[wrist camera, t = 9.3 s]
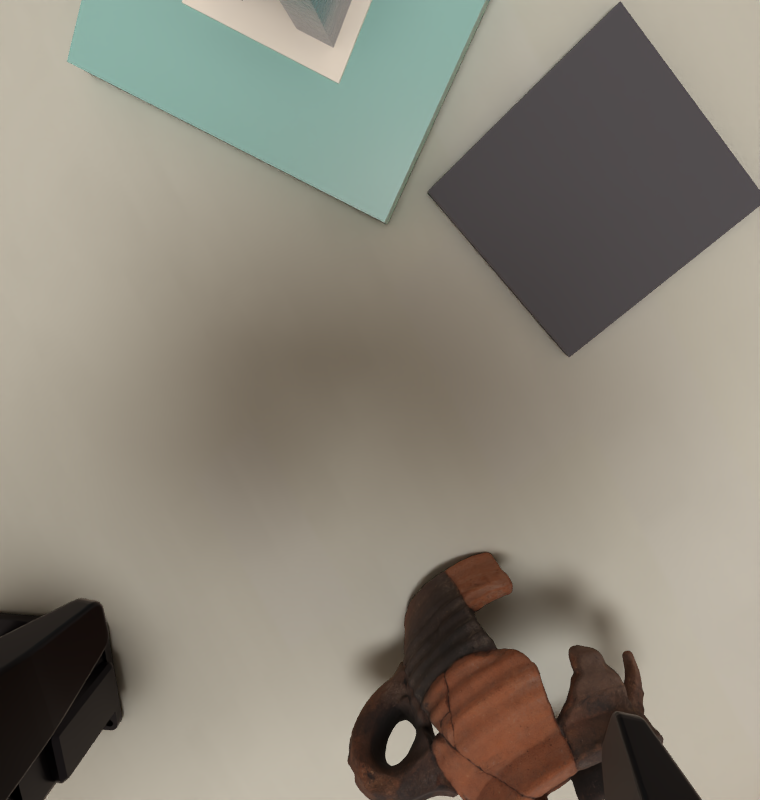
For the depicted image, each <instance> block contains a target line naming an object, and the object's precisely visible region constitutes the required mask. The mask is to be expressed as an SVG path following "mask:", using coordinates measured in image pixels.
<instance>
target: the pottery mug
mask: <svg viewBox="0 0 760 800" xmlns="http://www.w3.org/2000/svg"><path fill="white" fill-rule="evenodd" d="M512 589H513V585H512V582H511V580H510V578H509V577H508V575H507V574H506V573H505V572H504V571H502V570H501V568H500V567H499V565H498V563H497V562H496V561H495V559H494V558H493V556H492V555H491V554H490V553H487V552H485V553H481V554H478V555H473V556H471V557H469V558H466V559H464V560H462V561H459V562H458V563H456V564H455V565H453V566H451V567H449V568H448V569H447V570H446V571H444V572H441V573H440V574H438V575H437V576H436V577H434V578H433V579H432V580H431V581H430V582H428V583H426V584H424V586H423V587H422V588H421V590H420V591H419V592H418V593H417V594H416V595H415V596H414V597H413V599H412V600H411V602H410V603H409V606H408V609H407V612H406V615H405V622H404V626H405V640H404V655H405V656H404V660H403V662H401V663H400V665H399V667H398V669H397V671H396V673H395V674H394V675H393V676H392V677H391V678H390V679H389V680H388V681H387V682H385V683H384V684H383V685H382V686H381V687H380V688H379V689H378V690H377V691H376V692H375V693H374V694H373V695H372V696H371V697H370V699H369V700H368V701H367V702H366V704H365V706H364V707H363V709H362V710H361V712H360V714H359V716H358V718H357V720H356V722H355V725H354V728H353V730H352V735H351V738H350V744H349V756H348V764H349V765H350V767H351V769H352V770H353V772H354V774H355V783H356V785H357V787H358V788H359V789H360V791H361V792H362V793H363V794H364V795H365V796H366V797H367V798H369V799H370V800H426V799H429V798H431V797H434V796H449V797H455V796H457V795H458V794H459V795H460V797H461V798H462V799H463V800H548V798H547V796H548V795H549V794H550V793H551V792H553V791H555V790H557V789H558V788H560V787H561V786H563V785H564V784H566V783H567V782H568V781H569V780H572V782H573V785H574V788H575V791H576V794H577V797H578V799H579V800H605V793H604V782H603V771H602V746H603V742H604V739H605V735H606V732H607V728H608V725H609V722H610V718H611V716H612V714H613V713H614V712H616V711H619V712H624V713H629V714H633V715H638V716H640V717H642V718H643V719H644V720H645V721H646V722H647V723H648V725H649V726H650V727H651V729H652V730H653V732H654V733H655V734H656V736H657V737H658V739H659V740H660V741H661V743H662V744H663V737H662V736H661V735H660V733H659V732H658V731H657V730H656V729H655V728H654V727H653V726H652V725H651V723H650V722H649V720H648V719H647V718H646V717H645V715H644V707H643V696H644V692H643V689H642V682H641V677H640V672H639V669H638V666H637V664H636V661H635V659H634V657H633V654H632V653H631V652H630V651H625V652H624V653H623V655H622V656H623V662H624V668H625V680H624V683H623V682H622V680H621V678H620V676H619V675H618V674H617V673H616V672H615V671H614V670H613V669H612V668H611V667H609V666H608V665H607V664H606V663H605V661H604V659H603V657H602V655H601V654H600V652H599V651H597V650H595V649H593V648H590V647H584V646H580V645H576V646H572V647H570V649H569V659H570V662H571V666H572V669H573V671H574V673H573V675H572V677H571V683H570V689H569V693H568V696H567V700H566V702H565V704H564V706H563V708H562V710H561V713H560V714H559V716H558V718H557V719H556V718H555V716H554V713H553V709H552V707H551V704H550V703H549V700H548V698H547V694H546V692H545V689H544V686H543V683H542V680H541V677H540V673H539V670H538V668H537V666H536V664H535V663H533V662H531V661H530V659H529V658H528V657H527V656H526V655H524V654H523V653H521V652H519V651H518V650H514V649H497V648H496V646H495V643H494V642H493V640H492V639H491V638H490V637H489V636H488V635H487V634H486V632H485V631H484V630H483V628H482V627H481V626H480V624H479V623H478V622H477V619H476V617H475V612H476V611H478V610H479V609H481V608H482V607H483V606H484V605H486V604H488V603H490V602H492V601H493V600H496V599H498V598H500V597H502V596H505V595H508V594H510V593H511V592H512ZM403 720H408V721H409V722H410V723H412V724H413V726H414V727H415V729H416V737H415V740H414V742H413V744H412V746H411V748H410V751H409V753H408V754H407V756H406V757H405V758H404V759H403V760H402V761H401V762H400V763H399V764H397V765H395V766H390V765H389V764H388V763H387V762H386V759H385V751H386V744H387V741H388V738H389V736H390V734H391V732H392V730H393V728H394V727H395V725H396V724H397V723H398V722H400V721H403ZM432 724H433V725H434V726H435V728H437V730H438V731H439V733H438V734H437V735H436V736H435V735H434V732H433V728H432Z"/></svg>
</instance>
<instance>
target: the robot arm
mask: <svg viewBox="0 0 760 800" xmlns="http://www.w3.org/2000/svg"><path fill="white" fill-rule="evenodd" d="M121 720H122V714H121V708H120V702H119V696H118V690H117V684H116V678H115V672H114V666H113V660H112V654H111V648H110V642H109V631H108V627H107V622H106V618H105V613H104V609H103V606H102V604H101V603H100V602H98V601H94V600H89V599H83V598H81V599H76V600H74V601H72V602H70V603H68V604H65V605H63V606H61V607H59V608H57V609H55V610H53V611H51V612H49V613H47V614H45V615H43V616H41V617H39V616H28V615H16V614H4V613H0V800H44V799H45V798H46V796H47V795H48V794H49V792H50V791H51V789H52V788H53V787H54V785H55V784H56V783H64V782H65V781H66V780H67V779H68V778H69V777H70V776H71V774H72V773H73V771H74V770H75V768H76V767H77V766H78V764H79V763H80V761H81V760H82V758H83V757H84V755H85V754H86V753H87V751H88V750H89V748H90V747H91V745H92V744H93V742H94V741H95V740H96V738H97V737H98V735H99V734H100V732H101V731H102V729H104V730H114V729H116V728H117V726H118V725H119V723H120V722H121ZM602 771H603V782H604V793H605V800H702V799H701V798H700V796H699V795H698V794H697V792H696V791H695V789H694V788H693V787H692V785H691V784H690V782H689V781H688V780H687V778H686V777H685V775H684V774H683V772H682V771H681V770H680V768H679V767H678V765H677V764H676V763H675V761H674V760H673V758H672V757H671V756H670V754H669V753H668V751H667V750H666V749H665V747H664V746H663V744H662V743H661V741H660V740H659V739H658V737H657V736H656V734H655V733H654V732H653V730H652V729H651V727H650V726H649V725H648V723H647V722H646V721H645V720H644V719H643V718H642V717H640V716H638V715H633V714H629V713H624V712H619V711H616V712H614V713H613V714H612V716H611V718H610V722H609V725H608V728H607V732H606V735H605V739H604V742H603V746H602Z"/></svg>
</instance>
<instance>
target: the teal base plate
mask: <svg viewBox="0 0 760 800" xmlns="http://www.w3.org/2000/svg"><path fill="white" fill-rule="evenodd" d="M489 1H490V0H352V1H351V4H350V6H349V9H348V11H347V14H346V17H345V19H344V22H343V24H342V27H341V30H340V32H339V35H338V38H337V40H336V43H335V45H334V48H333V47H331V46H329V45H327V44H325V43H323V42H321V41H319V40H317V39H315V38H313V37H312V36H310V35H308V34H306V33H304V32H302V31H300V30H298V29H297V28H296V27H295V25H294V23H293V22H292V20H291V19H290V17H289V15H288V14H287V12H286V10H285V9H284V7H283V5H282V4H281V2H280V0H243V1H242V0H82V1H81V5H80V9H79V14H78V18H77V22H76V26H75V30H74V34H73V39H72V43H71V47H70V51H69V55H68V60H67V62H69V63H71V64H73V65H75V66H77V67H79V68H81V69H82V70H84V71H86V72H88V73H90V74H92V75H94V76H96V77H98V78H100V79H102V80H104V81H106V82H108V83H110V84H112V85H114V86H116V87H118V88H120V89H122V90H124V91H126V92H128V93H129V94H131V95H133V96H135V97H137V98H139V99H141V100H143V101H145V102H147V103H149V104H151V105H153V106H155V107H157V108H159V109H161V110H163V111H165V112H167V113H169V114H171V115H173V116H175V117H177V118H179V119H181V120H183V121H185V122H187V123H189V124H191V125H193V126H194V127H196V128H198V129H200V130H202V131H204V132H206V133H208V134H210V135H212V136H214V137H216V138H218V139H220V140H222V141H224V142H226V143H228V144H230V145H232V146H234V147H236V148H238V149H240V150H242V151H244V152H246V153H248V154H250V155H252V156H254V157H256V158H258V159H259V160H261V161H263V162H265V163H267V164H269V165H271V166H273V167H275V168H277V169H279V170H281V171H283V172H285V173H287V174H289V175H291V176H293V177H295V178H297V179H299V180H301V181H303V182H305V183H307V184H309V185H311V186H313V187H315V188H317V189H319V190H321V191H323V192H324V193H326V194H328V195H330V196H332V197H334V198H336V199H338V200H340V201H342V202H344V203H346V204H348V205H350V206H352V207H354V208H356V209H358V210H360V211H362V212H364V213H366V214H368V215H370V216H372V217H374V218H376V219H378V220H380V221H382V222H384V223H386V224H388V222H389V220H390V218H391V215H392V213H393V211H394V209H395V207H396V204H397V202H398V200H399V198H400V196H401V193H402V191H403V189H404V187H405V185H406V183H407V180H408V178H409V176H410V174H411V172H412V169H413V167H414V165H415V163H416V161H417V159H418V156H419V154H420V152H421V150H422V148H423V145H424V143H425V141H426V139H427V137H428V134H429V132H430V130H431V128H432V126H433V124H434V121H435V119H436V117H437V115H438V113H439V110H440V108H441V106H442V104H443V102H444V99H445V97H446V95H447V93H448V91H449V89H450V86H451V84H452V82H453V80H454V78H455V75H456V73H457V71H458V69H459V67H460V65H461V62H462V60H463V58H464V56H465V54H466V51H467V49H468V47H469V45H470V43H471V40H472V38H473V36H474V34H475V32H476V30H477V27H478V25H479V23H480V21H481V19H482V16H483V14H484V12H485V10H486V8H487V5H488V3H489Z"/></svg>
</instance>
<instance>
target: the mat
mask: <svg viewBox="0 0 760 800" xmlns="http://www.w3.org/2000/svg"><path fill="white" fill-rule="evenodd" d="M428 194H429V195H430V196H431V197H432V198H433V200H434V201H435V202H436V203H437V204H438V205H439V207H440V208H441V209H442V210H443V211H444V212H445V214H446V215H447V216H448V217H449V218H450V219H451V221H452V222H453V223H454V224H455V225H456V226H457V228H458V229H459V230H460V231H461V232H462V234H463V235H464V236H465V237H466V238H467V239H468V241H469V242H470V243H471V244H472V245H473V246H474V248H475V249H476V250H477V251H478V252H479V253H480V255H481V256H482V257H483V258H484V259H485V260H486V262H487V263H488V264H489V265H490V266H491V267H492V269H493V270H494V271H495V272H496V273H497V274H498V276H499V277H500V278H501V279H502V280H503V281H504V283H505V284H506V285H507V286H508V287H509V288H510V290H511V291H512V292H513V293H514V294H515V295H516V297H517V298H518V299H519V300H520V301H521V302H522V304H523V305H524V306H525V307H526V308H527V309H528V311H529V312H530V313H531V314H532V315H533V316H534V318H535V319H536V320H537V321H538V322H539V323H540V325H541V326H542V327H543V328H544V329H545V330H546V332H547V333H548V334H549V335H550V336H551V337H552V339H553V340H554V341H555V342H556V343H557V344H558V346H559V347H560V348H561V349H562V350H563V351H564V353H565V354H566V355H567V356H568V357H570V356H571V355H573V354H574V353H575V352H577V351H578V350H579V349H580V348H582V347H583V346H584V345H585V344H587V343H588V342H589V341H590V340H592V339H593V338H594V337H595V336H597V335H598V334H599V333H600V332H602V331H603V330H604V329H605V328H607V327H608V326H609V325H610V324H612V323H613V322H614V321H615V320H617V319H618V318H619V317H620V316H622V315H623V314H624V313H626V312H627V311H628V310H629V309H631V308H632V307H633V306H634V305H636V304H637V303H638V302H639V301H641V300H642V299H643V298H644V297H646V296H647V295H648V294H649V293H651V292H652V291H653V290H654V289H656V288H657V287H658V286H659V285H661V284H662V283H663V282H664V281H666V280H667V279H668V278H669V277H671V276H672V275H673V274H675V273H676V272H677V271H678V270H680V269H681V268H682V267H683V266H685V265H686V264H687V263H688V262H690V261H691V260H692V259H693V258H695V257H696V256H697V255H698V254H700V253H701V252H702V251H703V250H705V249H706V248H707V247H708V246H710V245H711V244H712V243H713V242H715V241H716V240H717V239H718V238H720V237H721V236H722V235H724V234H725V233H726V232H727V231H729V230H730V229H731V228H732V227H734V226H735V225H736V224H737V223H739V222H740V221H741V220H742V219H744V218H745V217H746V216H747V215H749V214H750V213H751V212H752V211H754V210H755V209H756V208H757V207H759V206H760V190H759V189H758V187H757V186H756V185H755V183H754V182H753V181H752V179H751V178H750V177H749V175H748V174H747V172H746V171H745V170H744V168H743V167H742V166H741V164H740V163H739V162H738V160H737V159H736V158H735V156H734V155H733V153H732V152H731V151H730V149H729V148H728V147H727V145H726V144H725V143H724V141H723V140H722V139H721V137H720V136H719V134H718V133H717V132H716V130H715V129H714V128H713V126H712V125H711V124H710V122H709V121H708V120H707V118H706V117H705V116H704V114H703V113H702V111H701V110H700V109H699V107H698V106H697V105H696V103H695V102H694V101H693V99H692V98H691V97H690V95H689V94H688V92H687V91H686V90H685V88H684V87H683V86H682V84H681V83H680V82H679V80H678V79H677V78H676V76H675V75H674V73H673V72H672V71H671V69H670V68H669V67H668V65H667V64H666V63H665V61H664V60H663V59H662V57H661V56H660V54H659V53H658V52H657V50H656V49H655V48H654V46H653V45H652V44H651V42H650V41H649V40H648V38H647V37H646V36H645V34H644V33H643V31H642V30H641V29H640V27H639V26H638V25H637V23H636V22H635V21H634V19H633V18H632V17H631V15H630V14H629V12H628V11H627V10H626V8H625V7H624V6H623V4H622V3H621V2H619V3H618V4H617V5H616V6H615V7H614V8H613V9H612V10H611V11H610V12H609V13H608V14H607V15H606V16H605V17H604V18H603V19H602V20H601V21H600V22H599V23H598V24H597V25H596V26H595V27H594V28H593V29H592V30H591V31H590V32H589V33H587V34H586V35H585V36H584V37H583V38H582V39H581V40H580V41H579V42H578V43H577V44H576V45H575V46H574V47H573V48H572V49H571V50H570V51H569V52H568V53H567V54H566V55H565V56H564V57H563V58H562V59H561V60H560V61H559V62H558V63H557V64H556V65H555V66H554V67H553V68H552V69H551V70H550V71H549V72H548V73H547V74H546V75H545V76H544V77H543V78H542V79H541V80H540V81H539V82H538V83H537V84H536V85H535V86H534V87H533V88H532V89H531V90H530V91H529V92H528V93H527V94H526V95H525V96H524V97H523V98H522V99H521V100H520V101H519V102H518V103H517V104H516V105H515V106H514V107H513V108H512V109H511V110H510V111H509V112H508V113H507V114H506V115H504V116H503V117H502V118H501V119H500V120H499V121H498V122H497V123H496V124H495V125H494V126H493V127H492V128H491V129H490V130H489V131H488V132H487V133H486V134H485V135H484V136H483V137H482V138H481V139H480V140H479V141H478V142H477V143H476V144H475V145H474V146H473V147H472V148H471V149H470V150H469V151H468V152H467V153H466V154H465V155H464V156H463V157H462V158H461V159H460V160H459V161H458V162H457V163H456V164H455V165H454V166H453V167H452V168H451V169H450V170H449V171H448V172H447V173H446V174H445V175H444V176H443V177H442V178H441V179H440V180H439V181H438V182H437V183H436V184H435V185H434V186H433V187H432V188H431V189H430V190H429V191H428Z"/></svg>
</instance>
